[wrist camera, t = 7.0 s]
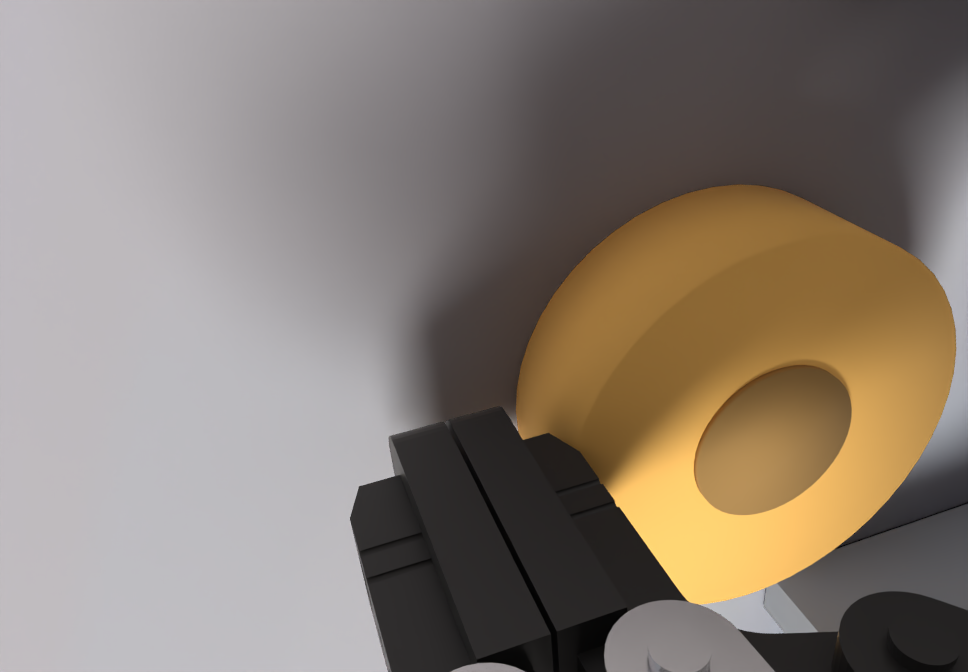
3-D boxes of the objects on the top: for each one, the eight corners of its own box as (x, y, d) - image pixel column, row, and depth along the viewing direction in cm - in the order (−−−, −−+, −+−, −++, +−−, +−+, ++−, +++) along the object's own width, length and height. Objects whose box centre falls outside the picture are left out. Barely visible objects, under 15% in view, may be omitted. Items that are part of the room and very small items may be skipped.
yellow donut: (502, 216, 11) (573, 288, 9) (880, 152, 12) (1012, 202, 10) (517, 548, 14) (571, 656, 12) (817, 464, 15) (909, 548, 13)
